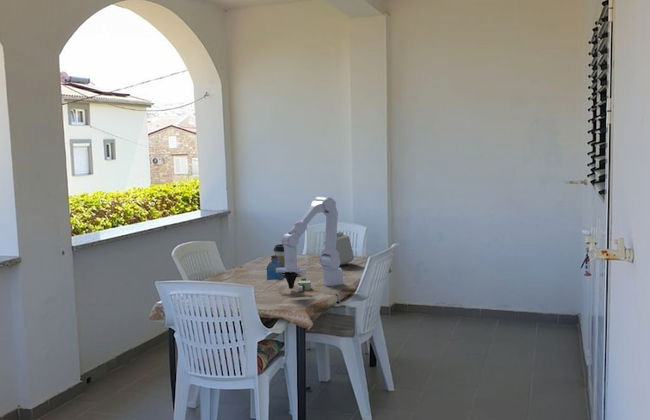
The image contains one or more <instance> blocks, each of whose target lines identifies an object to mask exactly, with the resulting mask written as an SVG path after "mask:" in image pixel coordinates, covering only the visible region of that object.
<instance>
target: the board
mask: <svg viewBox="0 0 650 420" xmlns="http://www.w3.org/2000/svg"><path fill="white" fill-rule="evenodd" d="M306 280H307V278H305V277H302V278H301V279H300V281H306ZM298 286H299V285H298V284H294V288H292V289H289V285H282V286H274V287H271V288H272V289H273V290H274V291H276V292H277V293H278V294H280V295H281V296H288V295H298V294H307V293H315V292H316V293H317V292H321V290H320V289H319V288H317V287H316V286H314V285H313V284H311V289H310V290H305V288H304V290H303V291H298Z"/></svg>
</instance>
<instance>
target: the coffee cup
mask: <svg viewBox="0 0 650 420" xmlns="http://www.w3.org/2000/svg"><path fill="white" fill-rule="evenodd" d="M272 250H273V252H274V255H277V259H278V260H277V262H280V264H281V265H282V268H285V260H284V245H283V244H282V243H281V244H276V245H275V246H274V248H273V249H272ZM282 273H283V272H282Z"/></svg>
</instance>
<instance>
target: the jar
mask: <svg viewBox="0 0 650 420" xmlns="http://www.w3.org/2000/svg"><path fill="white" fill-rule="evenodd" d="M323 242H324V245H325V241H323ZM336 250H337V251H338V253H339V258H340V266H343V265H347V264H349V263H351V262H353V260H354V258H355V257H354V252H353V247H352V243H351V239H350V236H349V235H348V234H344V232H343V231H341V232H337V238H336Z"/></svg>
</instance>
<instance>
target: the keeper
mask: <svg viewBox="0 0 650 420" xmlns="http://www.w3.org/2000/svg"><path fill="white" fill-rule="evenodd" d="M297 282H298V283H297V285H305V290H310V289H311V285H312V281H311V280H307V281H301V280H299V281H297Z"/></svg>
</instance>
